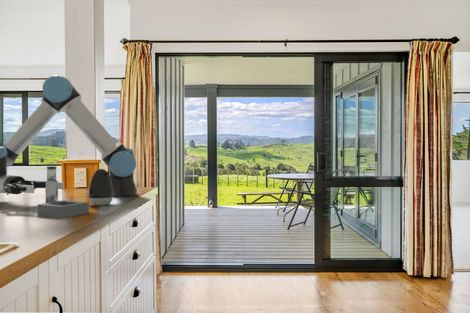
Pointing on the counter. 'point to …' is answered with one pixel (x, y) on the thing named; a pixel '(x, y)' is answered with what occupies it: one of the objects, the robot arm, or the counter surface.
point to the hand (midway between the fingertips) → (48, 187)
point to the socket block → (63, 209)
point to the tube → (51, 185)
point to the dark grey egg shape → (100, 188)
